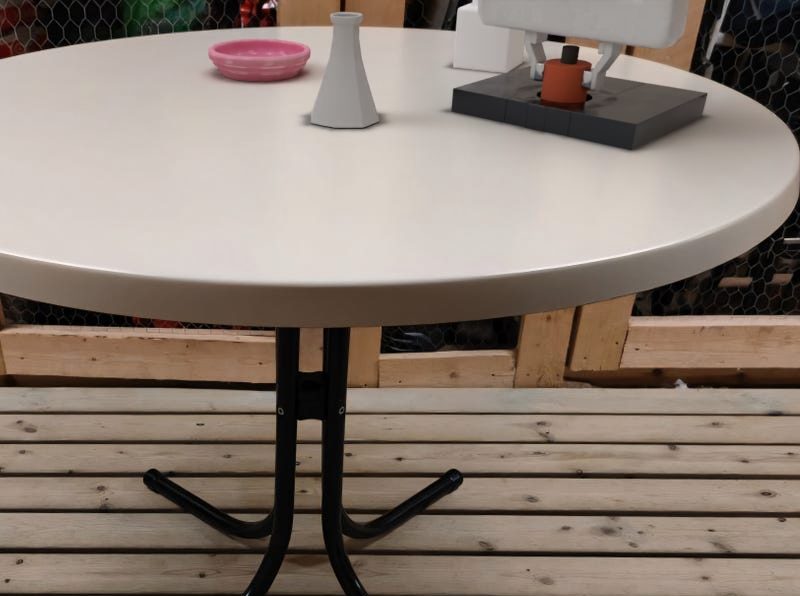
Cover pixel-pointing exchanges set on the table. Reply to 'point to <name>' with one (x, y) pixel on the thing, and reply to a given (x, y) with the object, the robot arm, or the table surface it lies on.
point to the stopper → (565, 77)
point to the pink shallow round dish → (259, 59)
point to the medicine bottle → (485, 43)
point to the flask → (345, 79)
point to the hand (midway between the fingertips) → (565, 84)
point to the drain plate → (583, 108)
